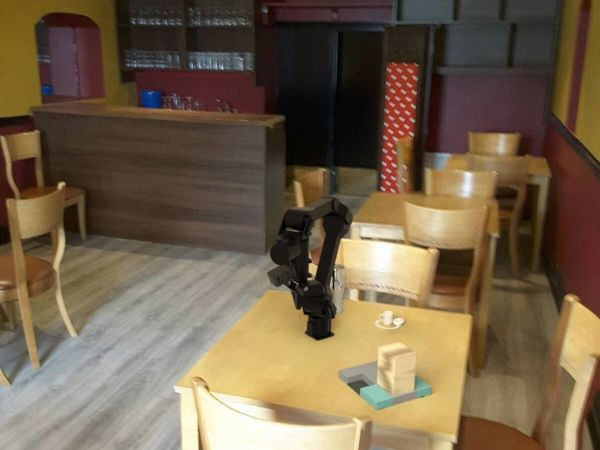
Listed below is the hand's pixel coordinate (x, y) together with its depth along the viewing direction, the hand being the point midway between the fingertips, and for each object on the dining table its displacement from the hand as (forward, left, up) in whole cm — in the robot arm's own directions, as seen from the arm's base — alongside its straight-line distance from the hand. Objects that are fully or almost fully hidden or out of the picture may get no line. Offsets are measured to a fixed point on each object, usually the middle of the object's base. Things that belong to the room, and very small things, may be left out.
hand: (298, 309), depth 171 cm
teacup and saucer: (-34, +3, -14) cm, 37 cm away
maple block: (-7, +32, -11) cm, 34 cm away
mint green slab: (-7, +32, -13) cm, 35 cm away
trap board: (-7, +27, -13) cm, 31 cm away
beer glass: (-27, -18, -13) cm, 35 cm away
